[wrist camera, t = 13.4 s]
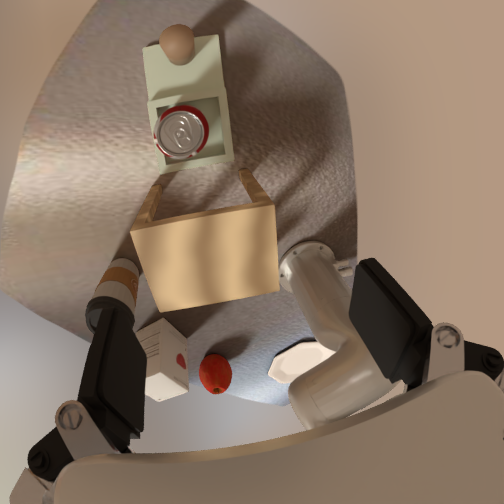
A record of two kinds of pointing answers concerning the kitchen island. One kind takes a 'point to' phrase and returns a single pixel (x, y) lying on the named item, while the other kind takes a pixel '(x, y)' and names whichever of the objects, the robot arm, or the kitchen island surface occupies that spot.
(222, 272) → the wooden stool
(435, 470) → the robot arm
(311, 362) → the plate
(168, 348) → the supplement box
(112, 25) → the kitchen island surface
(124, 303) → the coffee cup
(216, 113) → the tan cylinder on base
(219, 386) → the apple
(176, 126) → the soda can
